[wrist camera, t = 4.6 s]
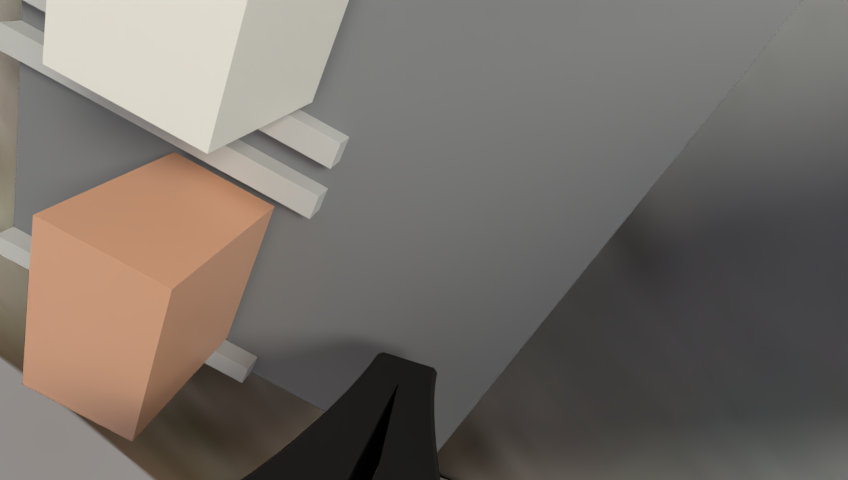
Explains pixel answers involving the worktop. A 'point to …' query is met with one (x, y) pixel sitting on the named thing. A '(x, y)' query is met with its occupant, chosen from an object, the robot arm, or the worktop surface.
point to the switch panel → (420, 173)
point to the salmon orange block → (136, 288)
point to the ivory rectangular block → (195, 59)
